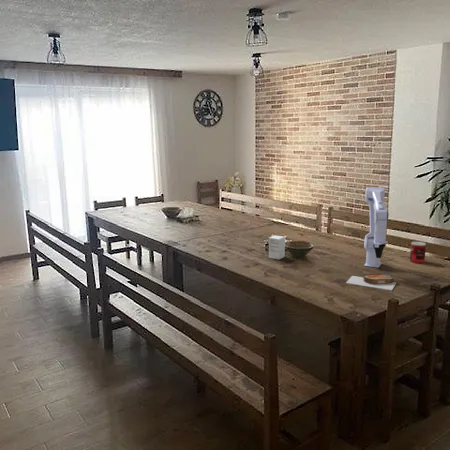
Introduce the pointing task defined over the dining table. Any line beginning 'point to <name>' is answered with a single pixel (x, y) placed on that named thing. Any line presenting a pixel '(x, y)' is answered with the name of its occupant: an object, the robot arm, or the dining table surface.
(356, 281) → the mat
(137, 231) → the dining table surface
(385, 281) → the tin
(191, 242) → the dining table surface
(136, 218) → the dining table surface
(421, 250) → the canned food
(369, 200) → the robot arm
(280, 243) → the supplement box
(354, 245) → the dining table surface
